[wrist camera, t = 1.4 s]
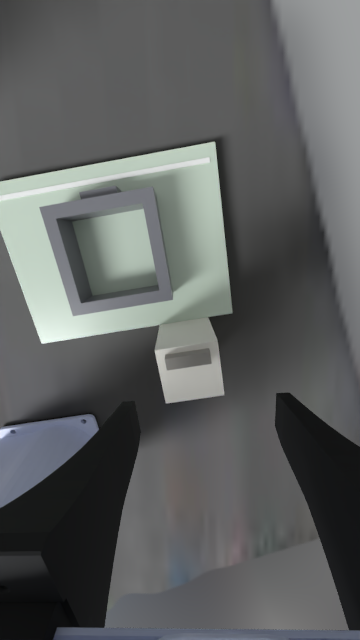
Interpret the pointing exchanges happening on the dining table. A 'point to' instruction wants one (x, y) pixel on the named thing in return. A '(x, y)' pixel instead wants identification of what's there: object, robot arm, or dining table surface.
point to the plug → (189, 360)
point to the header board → (119, 243)
